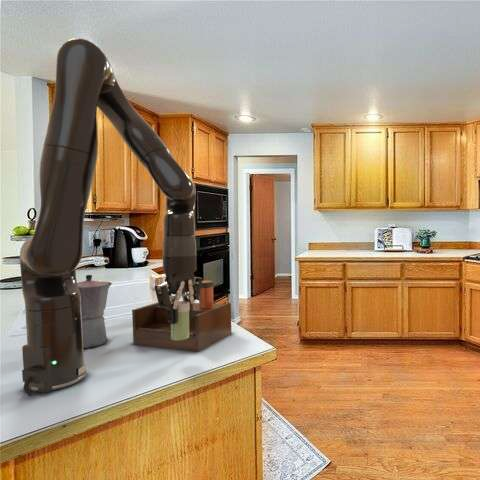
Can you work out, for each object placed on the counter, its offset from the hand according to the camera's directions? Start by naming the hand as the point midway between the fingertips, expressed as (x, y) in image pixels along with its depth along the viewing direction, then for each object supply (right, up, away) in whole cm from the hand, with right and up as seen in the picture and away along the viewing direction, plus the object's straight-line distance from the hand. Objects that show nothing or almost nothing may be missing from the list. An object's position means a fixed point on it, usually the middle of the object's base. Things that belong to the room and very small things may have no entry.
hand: (180, 320), depth 89 cm
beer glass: (-27, -8, +40) cm, 49 cm away
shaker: (0, -5, 0) cm, 4 cm away
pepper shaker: (-2, 0, +19) cm, 19 cm away
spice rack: (-7, -9, +17) cm, 21 cm away
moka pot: (-33, -10, +11) cm, 36 cm away
